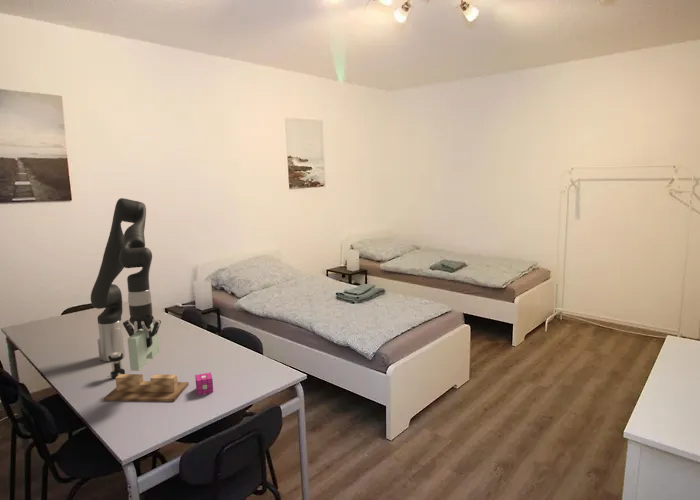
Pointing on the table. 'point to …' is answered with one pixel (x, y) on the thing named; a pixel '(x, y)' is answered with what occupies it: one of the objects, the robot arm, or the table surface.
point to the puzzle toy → (204, 383)
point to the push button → (116, 364)
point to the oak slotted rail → (146, 388)
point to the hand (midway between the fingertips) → (144, 346)
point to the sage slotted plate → (141, 349)
